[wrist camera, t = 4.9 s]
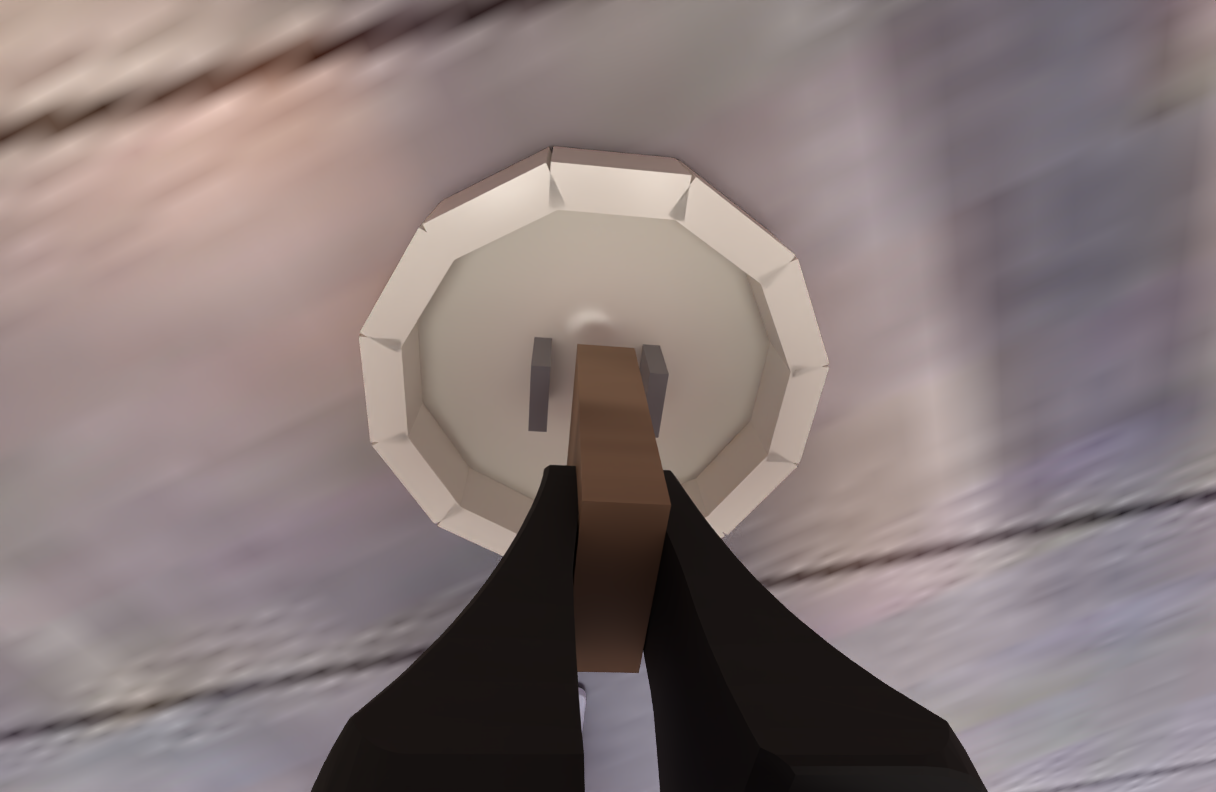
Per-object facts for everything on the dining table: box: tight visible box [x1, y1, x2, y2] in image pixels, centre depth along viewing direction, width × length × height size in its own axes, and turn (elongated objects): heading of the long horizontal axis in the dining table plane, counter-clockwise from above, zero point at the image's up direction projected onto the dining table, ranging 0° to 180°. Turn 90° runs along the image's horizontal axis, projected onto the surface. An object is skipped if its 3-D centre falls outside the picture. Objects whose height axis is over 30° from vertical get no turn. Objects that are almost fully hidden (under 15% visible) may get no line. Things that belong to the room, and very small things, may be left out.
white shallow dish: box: [359, 146, 829, 556], centre depth 17 cm, size 12×12×2 cm
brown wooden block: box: [567, 344, 671, 673], centre depth 13 cm, size 4×1×6 cm, turn 174°
